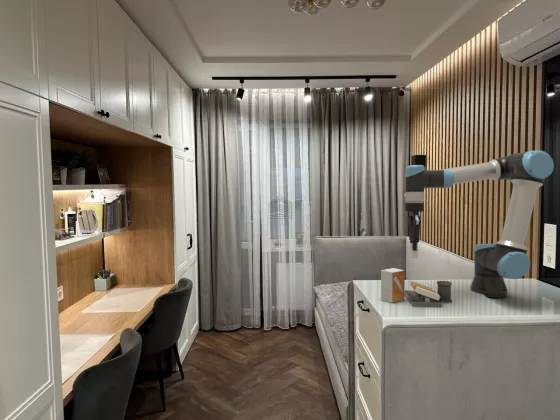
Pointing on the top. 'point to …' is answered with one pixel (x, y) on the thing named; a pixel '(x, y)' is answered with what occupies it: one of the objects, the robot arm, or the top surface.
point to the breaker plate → (421, 300)
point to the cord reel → (444, 291)
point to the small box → (392, 285)
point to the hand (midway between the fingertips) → (413, 257)
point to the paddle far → (418, 284)
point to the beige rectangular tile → (427, 293)
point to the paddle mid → (421, 287)
